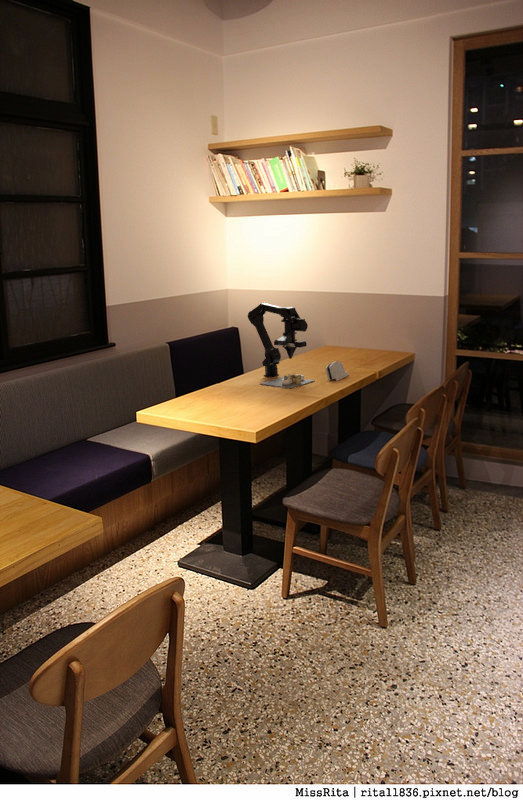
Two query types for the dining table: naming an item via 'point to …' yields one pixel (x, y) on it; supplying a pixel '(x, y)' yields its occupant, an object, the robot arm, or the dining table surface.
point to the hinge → (336, 371)
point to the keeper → (295, 378)
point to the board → (278, 383)
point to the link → (289, 380)
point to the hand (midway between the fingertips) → (290, 358)
